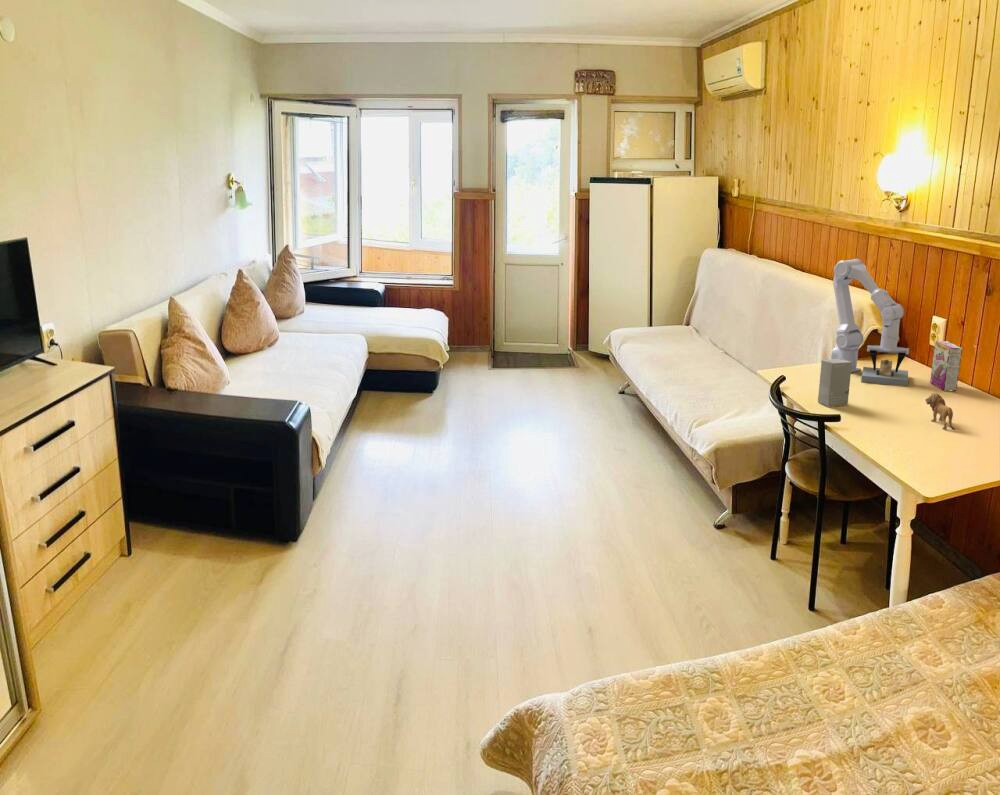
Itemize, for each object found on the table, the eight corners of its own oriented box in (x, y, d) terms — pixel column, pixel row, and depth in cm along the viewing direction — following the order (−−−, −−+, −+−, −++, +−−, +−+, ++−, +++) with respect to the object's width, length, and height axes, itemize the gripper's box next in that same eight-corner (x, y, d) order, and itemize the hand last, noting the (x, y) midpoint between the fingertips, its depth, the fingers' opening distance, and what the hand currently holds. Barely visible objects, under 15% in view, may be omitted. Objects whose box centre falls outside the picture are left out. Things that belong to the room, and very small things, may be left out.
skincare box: (828, 407, 290) (832, 363, 285) (815, 401, 296) (819, 358, 291) (849, 405, 292) (854, 361, 287) (836, 399, 298) (840, 356, 294)
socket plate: (861, 382, 319) (861, 375, 318) (862, 372, 331) (863, 366, 330) (907, 386, 312) (908, 379, 311) (907, 376, 324) (908, 370, 323)
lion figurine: (920, 417, 278) (924, 391, 275) (935, 416, 278) (939, 391, 276) (947, 432, 264) (950, 405, 261) (962, 431, 264) (967, 404, 262)
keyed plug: (878, 381, 319) (880, 362, 317) (878, 377, 324) (881, 358, 322) (889, 382, 318) (892, 363, 315) (890, 378, 323) (892, 359, 321)
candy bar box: (928, 383, 316) (934, 340, 311) (942, 382, 315) (948, 340, 311) (943, 391, 305) (949, 348, 300) (957, 391, 305) (963, 347, 300)
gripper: (868, 336, 316) (864, 371, 320) (910, 340, 310) (906, 375, 314) (869, 333, 322) (865, 366, 326) (910, 336, 316) (906, 370, 320)
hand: (885, 370), depth 320 cm, fingers open, 7 cm apart
